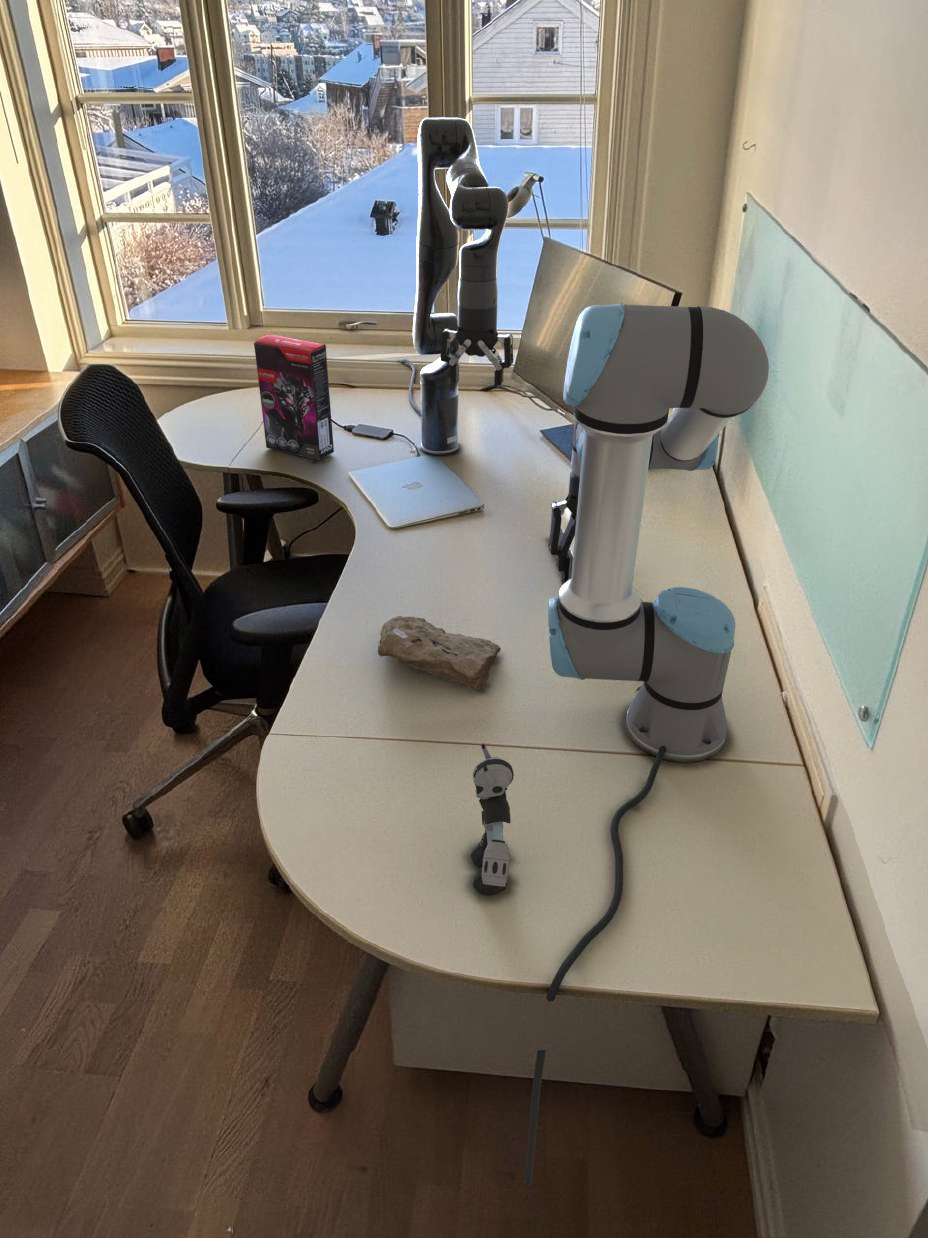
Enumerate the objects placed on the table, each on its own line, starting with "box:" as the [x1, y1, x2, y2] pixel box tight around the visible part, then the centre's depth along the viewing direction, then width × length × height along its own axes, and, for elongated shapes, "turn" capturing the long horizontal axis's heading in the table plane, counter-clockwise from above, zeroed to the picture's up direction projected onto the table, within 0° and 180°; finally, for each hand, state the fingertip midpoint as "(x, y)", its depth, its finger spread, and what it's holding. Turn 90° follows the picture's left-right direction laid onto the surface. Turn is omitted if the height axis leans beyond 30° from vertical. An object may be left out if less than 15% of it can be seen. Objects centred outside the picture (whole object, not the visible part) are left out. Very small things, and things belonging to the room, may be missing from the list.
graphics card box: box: [253, 333, 335, 461], centre depth 223 cm, size 17×7×27 cm, turn 62°
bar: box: [549, 508, 575, 580], centre depth 181 cm, size 25×5×8 cm, turn 6°
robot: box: [470, 743, 515, 896], centre depth 114 cm, size 20×5×20 cm, turn 3°
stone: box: [377, 615, 502, 691], centre depth 155 cm, size 21×15×6 cm
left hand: (476, 384), depth 184 cm, fingers open, 8 cm apart
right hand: (581, 583), depth 175 cm, fingers open, 6 cm apart
